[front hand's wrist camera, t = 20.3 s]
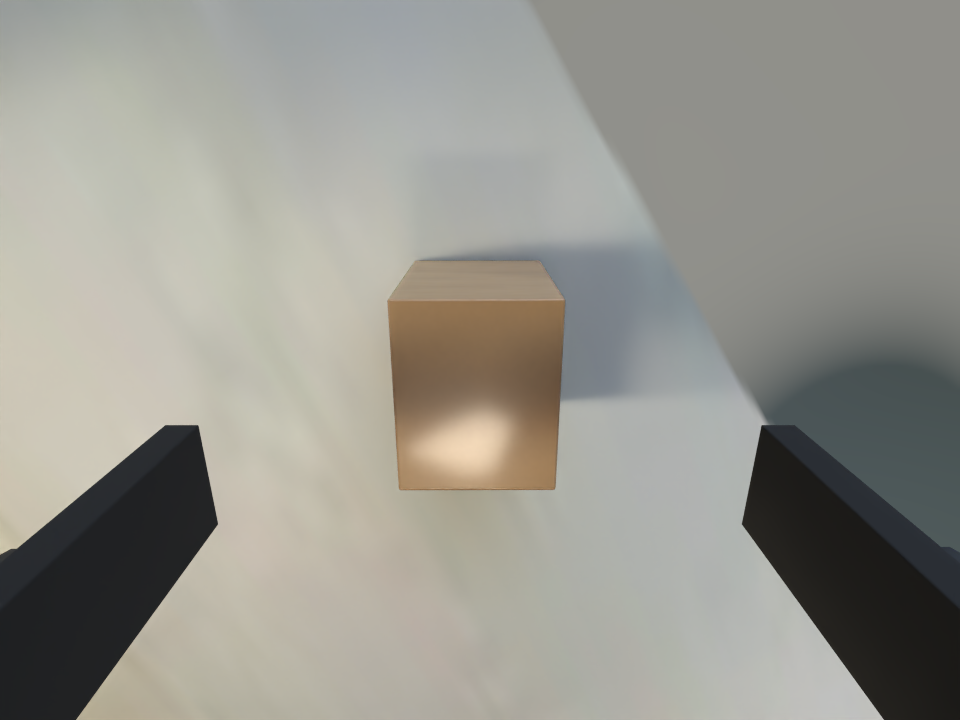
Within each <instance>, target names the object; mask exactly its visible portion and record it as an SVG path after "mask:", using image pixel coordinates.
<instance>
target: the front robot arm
mask: <svg viewBox="0 0 960 720" xmlns="http://www.w3.org/2000/svg"><path fill="white" fill-rule="evenodd" d="M217 525H218V521H217V516H216V511H215V506H214V502H213V497H212V492H211V487H210V482H209V477H208V472H207V467H206V462H205V457H204V452H203V447H202V442H201V437H200V432H199V427H198V425H165V426H164V427H163V428H162V429H160V430H159V431H158V432H157V433H156V434H154V435H153V436H152V437H151V438H150V439H148V440H147V441H146V442H145V443H144V444H142V445H141V446H140V447H139V448H138V449H136V450H135V451H134V452H133V453H132V454H130V455H129V456H128V457H127V458H126V459H124V460H123V461H122V462H121V463H120V464H118V465H117V466H116V467H115V468H114V469H112V470H111V471H110V472H109V473H108V474H106V475H105V476H104V477H103V478H102V479H100V480H99V481H98V482H97V483H96V484H94V485H93V486H92V487H91V488H90V489H88V490H87V491H86V492H85V493H84V494H82V495H81V496H80V497H79V498H77V499H76V500H75V501H74V502H73V503H71V504H70V505H69V506H68V507H67V508H65V509H64V510H63V511H62V512H61V513H59V514H58V515H57V516H56V517H55V518H53V519H52V520H51V521H50V522H49V523H47V524H46V525H45V526H44V527H43V528H41V529H40V530H39V531H38V532H37V533H35V534H34V535H33V536H32V537H31V538H29V539H28V540H27V541H26V542H25V543H23V544H22V545H21V546H20V547H19V548H17V549H10V550H8V551H6V552H5V553H3V554H1V555H0V720H76V719H77V718H78V716H79V715H80V713H81V712H82V711H83V709H84V708H85V707H86V705H87V704H88V702H89V701H90V700H91V698H92V697H93V696H94V694H95V693H96V691H97V690H98V689H99V687H100V686H101V685H102V683H103V682H104V680H105V679H106V678H107V676H108V675H109V674H110V672H111V671H112V669H113V668H114V667H115V665H116V664H117V663H118V661H119V660H120V658H121V657H122V656H123V654H124V653H125V652H126V650H127V649H128V647H129V646H130V645H131V643H132V642H133V641H134V639H135V638H136V636H137V635H138V634H139V632H140V631H141V630H142V628H143V627H144V625H145V624H146V623H147V621H148V620H149V618H150V617H151V616H152V614H153V613H154V612H155V610H156V609H157V607H158V606H159V605H160V603H161V602H162V601H163V599H164V598H165V596H166V595H167V594H168V592H169V591H170V590H171V588H172V587H173V585H174V584H175V583H176V581H177V580H178V579H179V577H180V576H181V574H182V573H183V572H184V570H185V569H186V568H187V566H188V565H189V563H190V562H191V561H192V559H193V558H194V557H195V555H196V554H197V552H198V551H199V550H200V548H201V547H202V546H203V544H204V543H205V541H206V540H207V539H208V537H209V536H210V535H211V533H212V532H213V530H214V529H215V528H216V526H217ZM742 525H743V526H744V528H745V529H746V530H747V532H748V533H749V535H750V536H751V537H752V539H753V540H754V541H755V543H756V544H757V546H758V547H759V548H760V550H761V551H762V552H763V554H764V555H765V557H766V558H767V559H768V561H769V562H770V563H771V565H772V566H773V568H774V569H775V570H776V572H777V573H778V574H779V576H780V577H781V579H782V580H783V581H784V583H785V584H786V585H787V587H788V588H789V590H790V591H791V592H792V594H793V595H794V596H795V598H796V599H797V601H798V602H799V603H800V605H801V606H802V607H803V609H804V610H805V612H806V613H807V614H808V616H809V617H810V618H811V620H812V621H813V623H814V624H815V625H816V627H817V628H818V630H819V631H820V632H821V634H822V635H823V636H824V638H825V639H826V641H827V642H828V643H829V645H830V646H831V647H832V649H833V650H834V652H835V653H836V654H837V656H838V657H839V658H840V660H841V661H842V663H843V664H844V665H845V667H846V668H847V669H848V671H849V672H850V674H851V675H852V676H853V678H854V679H855V680H856V682H857V683H858V685H859V686H860V687H861V689H862V690H863V691H864V693H865V694H866V696H867V697H868V698H869V700H870V701H871V702H872V704H873V705H874V707H875V708H876V709H877V711H878V712H879V713H880V715H881V716H882V718H883V719H884V720H960V553H959V552H958V551H956V550H954V549H952V548H950V547H940V546H939V545H938V544H937V543H935V542H934V541H933V540H932V539H931V538H929V537H928V536H927V535H926V534H924V533H923V532H922V531H921V530H920V529H919V528H917V527H916V526H915V525H914V524H913V523H911V522H910V521H909V520H908V519H907V518H905V517H904V516H903V515H902V514H901V513H899V512H898V511H897V510H896V509H895V508H893V507H892V506H891V505H890V504H888V503H887V502H886V501H885V500H884V499H882V498H881V497H880V496H879V495H878V494H876V493H875V492H874V491H873V490H872V489H870V488H869V487H868V486H867V485H866V484H864V483H863V482H862V481H861V480H860V479H858V478H857V477H856V476H855V475H854V474H852V473H851V472H850V471H849V470H848V469H846V468H845V467H844V466H843V465H842V464H840V463H839V462H838V461H837V460H836V459H834V458H833V457H832V456H831V455H830V454H828V453H827V452H826V451H825V450H824V449H822V448H821V447H820V446H819V445H818V444H816V443H815V442H814V441H813V440H812V439H810V438H809V437H808V436H807V435H806V434H804V433H803V432H802V431H801V430H800V429H798V428H797V427H796V426H795V425H762V427H761V432H760V437H759V442H758V447H757V452H756V457H755V462H754V467H753V472H752V477H751V482H750V487H749V492H748V497H747V501H746V506H745V511H744V516H743V521H742Z"/></svg>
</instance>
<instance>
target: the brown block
mask: <svg viewBox="0 0 960 720" xmlns="http://www.w3.org/2000/svg"><path fill="white" fill-rule="evenodd" d="M388 316H389V332H390V349H391V365H392V381H393V398H394V414H395V431H396V447H397V463H398V480H399V489H400V490H554V489H555V487H556V469H557V450H558V431H559V411H560V392H561V373H562V354H563V335H564V316H565V299H564V297H563V296H562V294H561V293H560V291H559V290H558V288H557V287H556V285H555V284H554V282H553V280H552V279H551V277H550V276H549V274H548V273H547V271H546V270H545V268H544V267H543V265H542V264H541V262H540V261H415V262H414V263H413V265H412V266H411V267H410V269H409V270H408V272H407V273H406V275H405V276H404V277H403V279H402V280H401V282H400V283H399V285H398V286H397V288H396V289H395V290H394V292H393V293H392V295H391V296H390V298H389V299H388Z"/></svg>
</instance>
